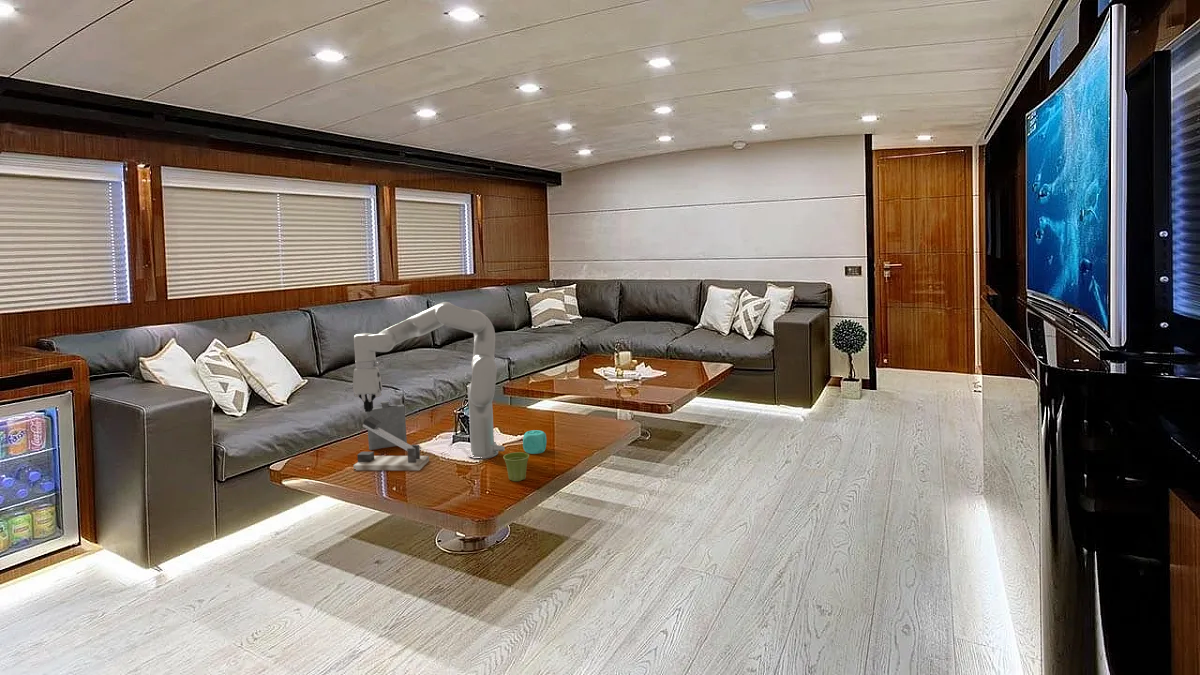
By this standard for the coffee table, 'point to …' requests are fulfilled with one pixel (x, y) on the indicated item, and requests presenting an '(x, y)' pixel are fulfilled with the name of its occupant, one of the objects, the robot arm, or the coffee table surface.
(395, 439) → the lever
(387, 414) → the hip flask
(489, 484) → the coffee table surface
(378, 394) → the robot arm
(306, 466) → the coffee table surface
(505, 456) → the plant pot
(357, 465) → the base
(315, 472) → the coffee table surface
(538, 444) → the decorative dice
